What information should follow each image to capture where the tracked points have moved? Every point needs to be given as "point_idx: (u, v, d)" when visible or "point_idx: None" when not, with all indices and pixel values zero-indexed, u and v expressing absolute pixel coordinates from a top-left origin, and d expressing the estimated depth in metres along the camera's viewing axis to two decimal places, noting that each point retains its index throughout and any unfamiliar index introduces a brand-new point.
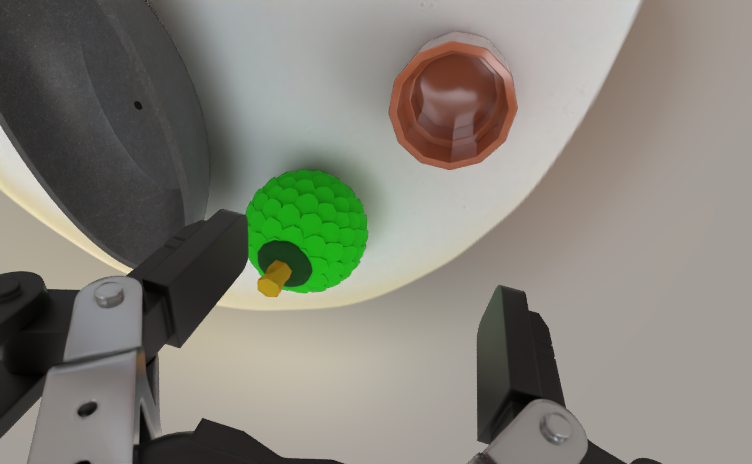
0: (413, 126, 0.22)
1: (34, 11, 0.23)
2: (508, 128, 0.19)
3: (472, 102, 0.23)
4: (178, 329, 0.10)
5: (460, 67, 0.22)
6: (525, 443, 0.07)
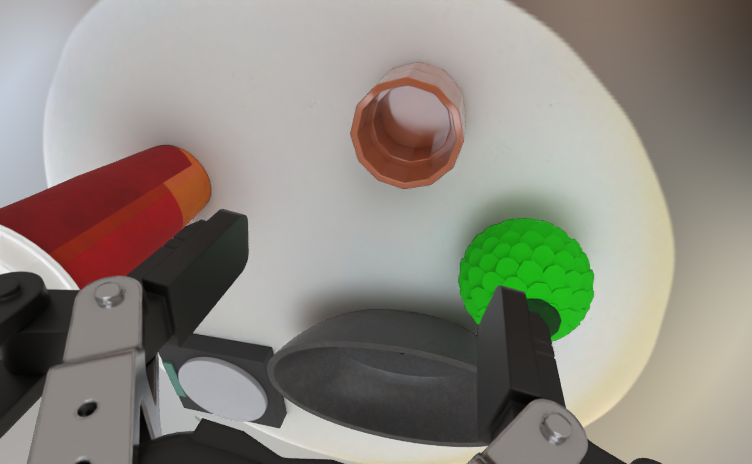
0: (432, 161, 0.24)
1: (337, 376, 0.36)
2: (425, 84, 0.19)
3: (428, 98, 0.24)
4: (178, 330, 0.10)
5: (396, 108, 0.25)
6: (525, 443, 0.07)
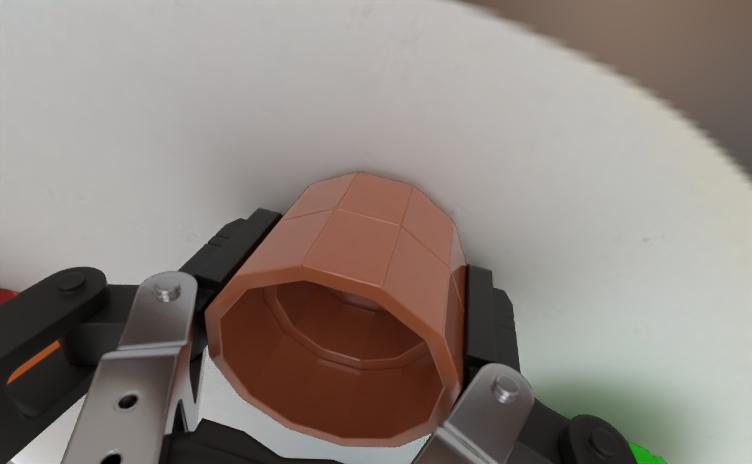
0: (404, 363, 0.12)
1: None
2: (348, 281, 0.07)
3: None
4: None
5: None
6: (480, 407, 0.07)
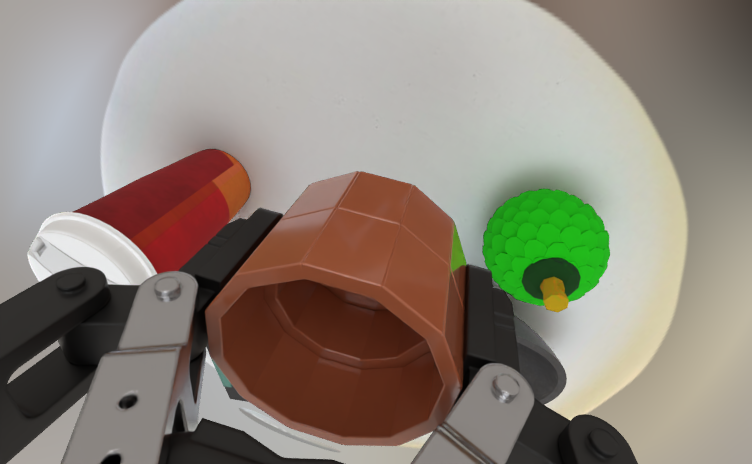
0: (404, 362, 0.12)
1: None
2: (349, 280, 0.07)
3: None
4: None
5: None
6: (480, 406, 0.07)
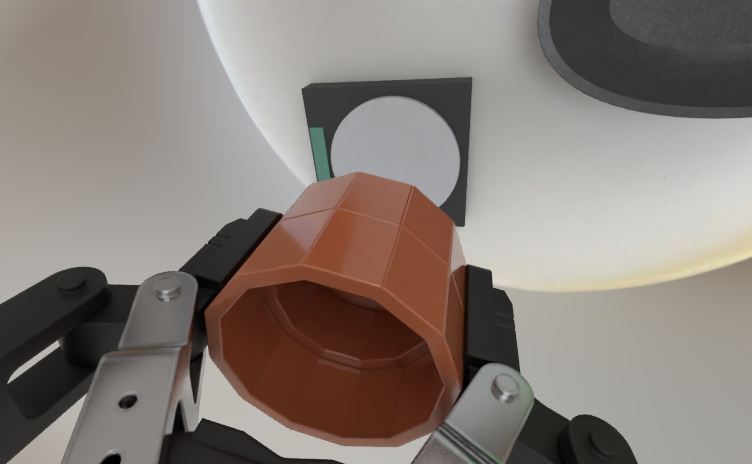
0: (404, 363, 0.12)
1: (611, 57, 0.24)
2: (349, 281, 0.07)
3: None
4: None
5: None
6: (480, 406, 0.07)
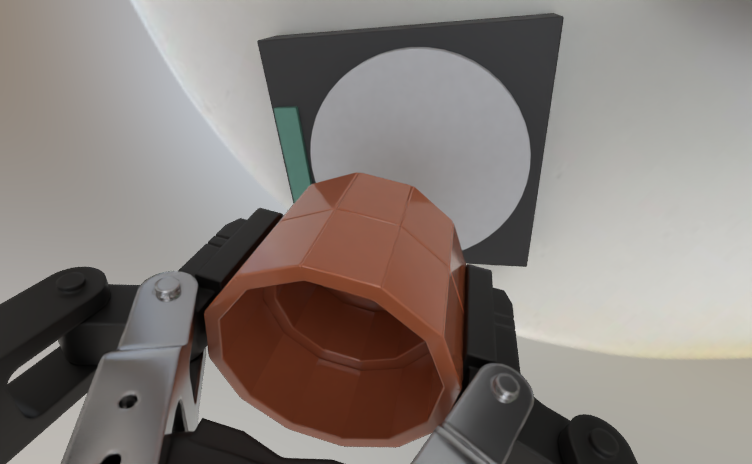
0: (403, 363, 0.12)
1: None
2: (348, 281, 0.07)
3: None
4: None
5: None
6: (480, 406, 0.07)
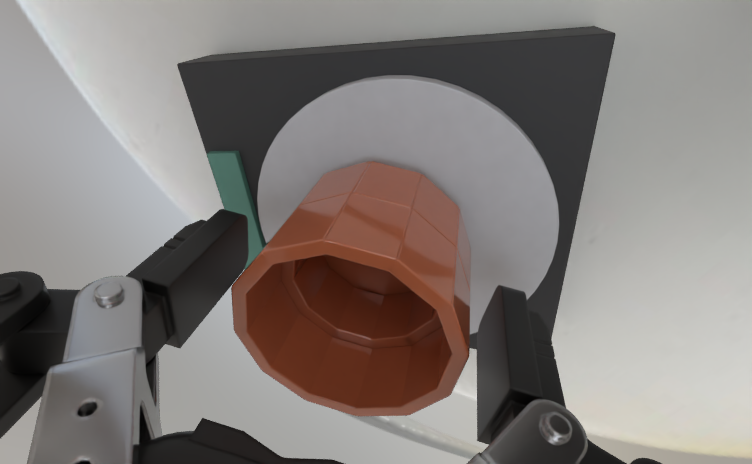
0: (412, 341, 0.12)
1: None
2: (367, 254, 0.08)
3: None
4: (177, 329, 0.10)
5: None
6: (525, 443, 0.07)
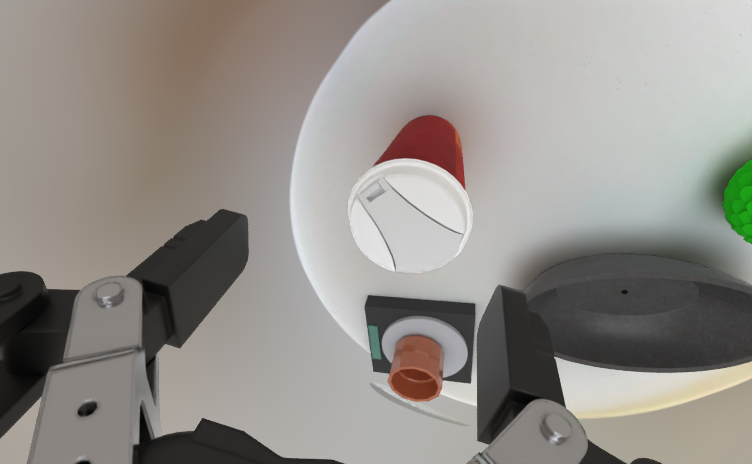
0: (428, 381, 0.46)
1: (558, 320, 0.40)
2: (421, 369, 0.42)
3: None
4: (178, 330, 0.10)
5: None
6: (525, 443, 0.07)
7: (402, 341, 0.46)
